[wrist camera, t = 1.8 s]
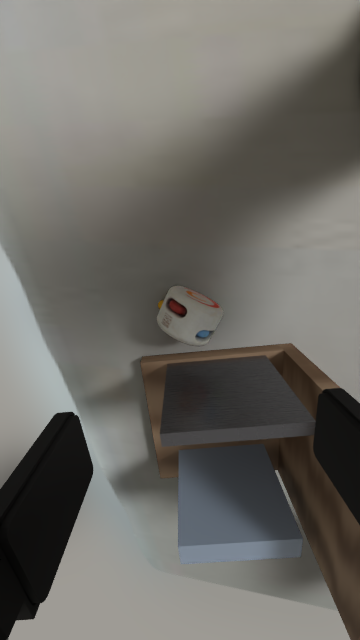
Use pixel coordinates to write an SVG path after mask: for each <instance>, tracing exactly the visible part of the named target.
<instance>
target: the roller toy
mask: <svg viewBox="0 0 360 640" xmlns="http://www.w3.org/2000/svg"><path fill="white" fill-rule="evenodd" d="M158 307H159V309H160V311H159V313H158V316H157V322H158V325H159V326H160V328H161V329H162V330H163V331H164V332H165V333H167V334H168V335H169V336H171V337H173V338H174V339H176V340H178V341H180V342H183V343H185V344H188V345H193V346H203V345H205V344H207V343H208V342H209V340H210V338H211V337H212V335H213V333H214V331H215V330H216V328H217V326H218V324H219V322H220V321H221V319H222V317H223V309H222V308H221V307H220V306H219V305H218V304H217V303H216V302H214V301H213V300H211V299H209V298H208V297H206V296H204V295H202V294H200V293H198V292H196V291H194V290H191V289H189V288H186V287H182V286H173V287H171V288H170V289H169V291H168V293H167V295H166V297H165V299H164V300H161V301H160V302H159V303H158Z"/></svg>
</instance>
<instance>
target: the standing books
mask: <svg viewBox="0 0 360 640" xmlns="http://www.w3.org/2000/svg"><path fill="white" fill-rule="evenodd" d="M302 543H303V538H302V535H301V533H300V530H299V528H298V526H297V523H296V521H295V518H294V516H293V514H292V511H291V509H290V506H289V504H288V502H287V499H286V497H285V494H284V492H283V490H282V487H281V485H280V482H279V480H278V477H277V475H276V473H275V470H274V468H273V465H272V463H271V461H270V458H269V456H268V453H267V451H266V449H265V446H264V444H253V445H240V446H227V447H214V448H201V449H187V450H179V479H178V550H179V556H180V562H181V564H193V563H209V562H226V561H243V560H260V559H276V558H293V557H301V552H302Z"/></svg>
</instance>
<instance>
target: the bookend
mask: <svg viewBox="0 0 360 640" xmlns="http://www.w3.org/2000/svg"><path fill="white" fill-rule="evenodd" d="M315 423H316V421H315V420H314V418H313V417H312V416H311V414H310V413H309V412H308V410H307V409H306V408H305V406H304V405H303V404H302V402H301V401H300V400H299V399H298V397H297V396H296V395H295V393H294V392H293V391H292V389H291V388H290V387H289V385H288V384H287V383H286V381H285V380H284V379H283V377H282V376H281V375H280V374H279V372H278V371H277V370H276V368H275V367H274V366H273V364H272V363H271V362H270V360H269V359H268V358H267V356H266V355H260V356H249V357H238V358H226V359H215V360H204V361H193V362H181V363H170V364H167V370H166V380H165V389H164V399H163V408H162V417H161V427H160V439H161V445H162V447H167V446H180V445H193V444H206V443H219V442H232V441H246V440H259V439H272V438H285V437H298V436H311V435H314V432H315Z"/></svg>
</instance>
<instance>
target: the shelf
mask: <svg viewBox="0 0 360 640" xmlns="http://www.w3.org/2000/svg"><path fill="white" fill-rule="evenodd" d="M260 355H266V356H267V358H268V359H269V360H270V362H271V363H272V364H273V366H274V367H275V368H276V370H277V371H278V372H279V374H280V375H281V376H282V377H283V379H284V380H285V381H286V383H287V384H288V385H289V387H290V388H291V389H292V391H293V392H294V393H295V395H296V396H297V397H298V399H299V400H300V401H301V402H302V404H303V405H304V406H305V408H306V409H307V410H308V412H309V413H310V414H311V416H312V417H313V418H314V420H315V421H316V413H317V403H318V396H319V394H321V393H322V391H323V390H324V389H332V388H340V387H339V386H338V385H337V384H336V383H335V382H333V381H332V380H331V379H330V378H329V377H328V376H327V375H326V374H325V373H324V372H322V371H321V370H320V369H319V368H318V367H317V366H316V365H315V364H314V363H312V362H311V361H310V360H309V359H308V358H307V357H306V356H305V355H304V354H302V353H301V352H300V351H299V350H298V349H297V348H296V347H295V346H294V345H293V344H291V343H289V344H278V345H267V346H256V347H245V348H233V349H222V350H211V351H200V352H189V353H178V354H167V355H155V356H144V357H142V359H141V363H140V364H141V369H142V375H143V381H144V387H145V392H146V398H147V404H148V409H149V415H150V421H151V427H152V432H153V438H154V444H155V449H156V455H157V461H158V467H159V472H160V478H172V477H179V450H187V449H201V448H214V447H227V446H240V445H253V444H264V446H265V449H266V451H267V453H268V456H269V458H270V461H271V463H272V465H273V468H274V470H278V472H279V474H280V476H281V479H282V481H283V483H284V486H285V488H286V490H287V493H288V495H289V497H290V500H291V502H292V504H293V507H294V509H295V511H296V513H297V516H298V518H299V520H300V523H301V525H302V527H303V530H304V532H305V534H306V537H307V539H308V541H309V544H310V546H311V548H312V551H313V553H314V555H315V558H316V560H317V562H318V565H319V567H320V569H321V572H322V574H323V576H324V579H325V581H326V583H327V586H328V588H329V590H330V593H331V595H332V597H333V599H334V602H335V604H336V606H337V609H338V611H339V613H340V616H341V618H342V620H343V623H344V625H345V627H346V630H347V632H348V634H349V637H350V639H351V640H360V525H359V524H358V522H357V520H356V519H355V517H354V516H353V514H352V513H351V511H350V510H349V508H348V507H347V505H346V503H345V502H344V500H343V499H342V497H341V496H340V494H339V493H338V491H337V490H336V488H335V487H334V485H333V483H332V482H331V480H330V479H329V477H328V476H327V474H326V473H325V471H324V470H323V468H322V466H321V465H320V463H319V462H318V460H317V459H316V457H315V455H314V452H313V442H314V435H311V436H298V437H285V438H272V439H259V440H246V441H232V442H219V443H206V444H193V445H180V446H167V447H162V445H161V439H160V427H161V417H162V408H163V399H164V389H165V380H166V370H167V364H170V363H181V362H193V361H204V360H215V359H226V358H238V357H249V356H260Z"/></svg>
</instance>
